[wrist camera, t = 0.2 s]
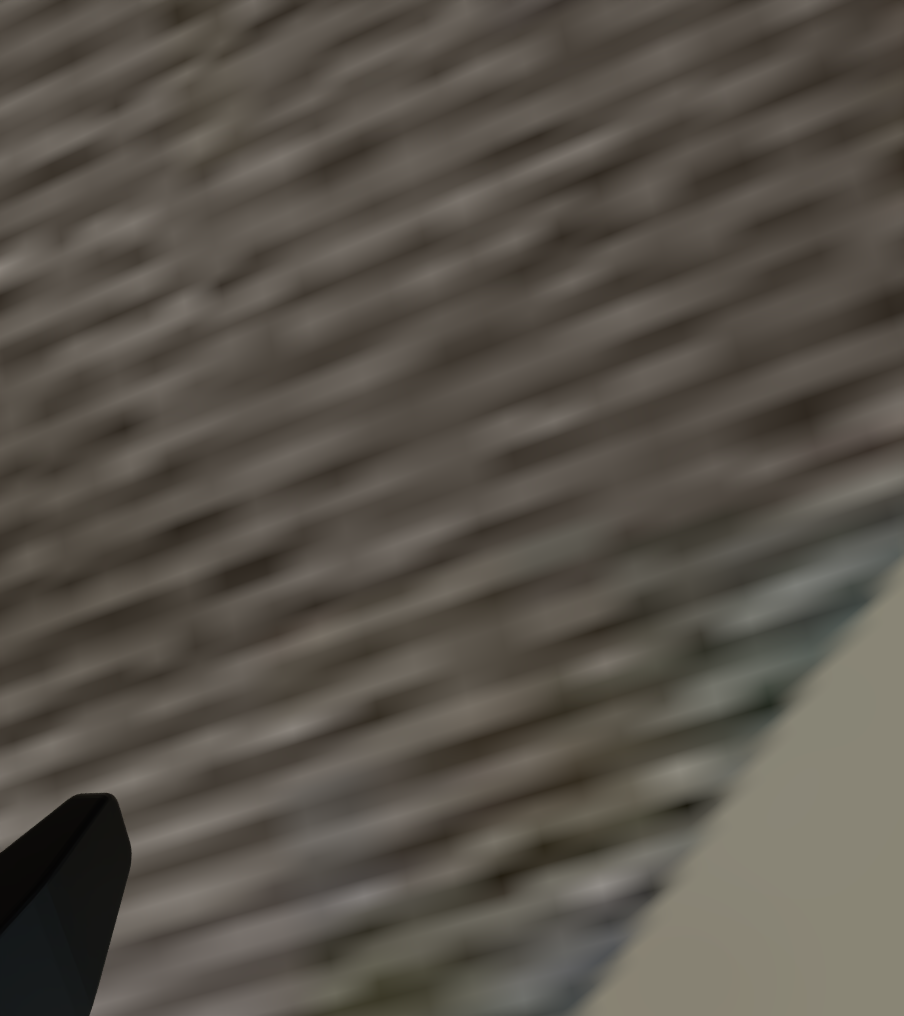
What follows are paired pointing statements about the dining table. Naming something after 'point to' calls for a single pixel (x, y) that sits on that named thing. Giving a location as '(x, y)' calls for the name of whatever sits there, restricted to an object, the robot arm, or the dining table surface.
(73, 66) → the dining table surface
